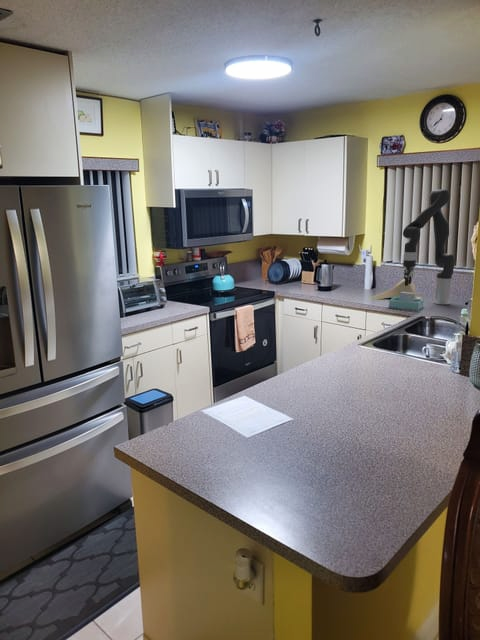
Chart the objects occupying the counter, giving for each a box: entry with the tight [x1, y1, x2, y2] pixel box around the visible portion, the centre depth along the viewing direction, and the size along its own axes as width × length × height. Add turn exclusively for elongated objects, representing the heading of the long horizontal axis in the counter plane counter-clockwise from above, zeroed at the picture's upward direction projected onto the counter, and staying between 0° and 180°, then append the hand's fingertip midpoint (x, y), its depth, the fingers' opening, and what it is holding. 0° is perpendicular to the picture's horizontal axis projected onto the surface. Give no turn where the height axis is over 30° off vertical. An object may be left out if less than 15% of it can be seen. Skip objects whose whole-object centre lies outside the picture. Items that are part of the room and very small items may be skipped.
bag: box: [370, 278, 422, 301], centre depth 347 cm, size 19×17×35 cm
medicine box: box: [399, 292, 414, 302], centre depth 314 cm, size 8×4×9 cm, turn 52°
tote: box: [388, 297, 424, 312], centre depth 314 cm, size 15×18×5 cm
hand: (407, 284), depth 312 cm, fingers open, 8 cm apart
